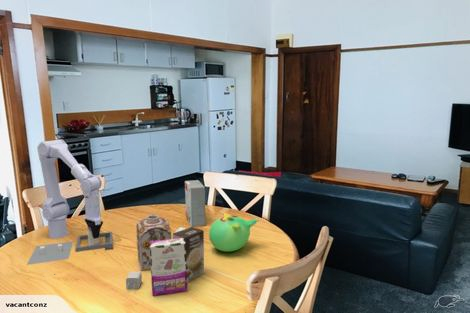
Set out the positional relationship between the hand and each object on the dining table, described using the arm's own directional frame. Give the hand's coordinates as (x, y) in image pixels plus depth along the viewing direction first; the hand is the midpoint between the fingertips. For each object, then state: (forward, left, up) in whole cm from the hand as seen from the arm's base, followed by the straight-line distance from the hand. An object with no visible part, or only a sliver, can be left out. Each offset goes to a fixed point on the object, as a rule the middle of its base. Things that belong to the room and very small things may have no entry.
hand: (94, 236), depth 147 cm
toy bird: (+24, +53, -4) cm, 58 cm away
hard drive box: (-14, +47, -4) cm, 49 cm away
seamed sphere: (+11, +36, -4) cm, 38 cm away
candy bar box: (+47, +24, -4) cm, 53 cm away
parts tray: (0, 0, -4) cm, 4 cm away
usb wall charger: (+42, +13, -4) cm, 44 cm away
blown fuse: (0, 0, -3) cm, 3 cm away
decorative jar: (+25, +22, -4) cm, 34 cm away
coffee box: (+40, +32, -4) cm, 51 cm away
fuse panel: (+4, -16, -4) cm, 17 cm away
